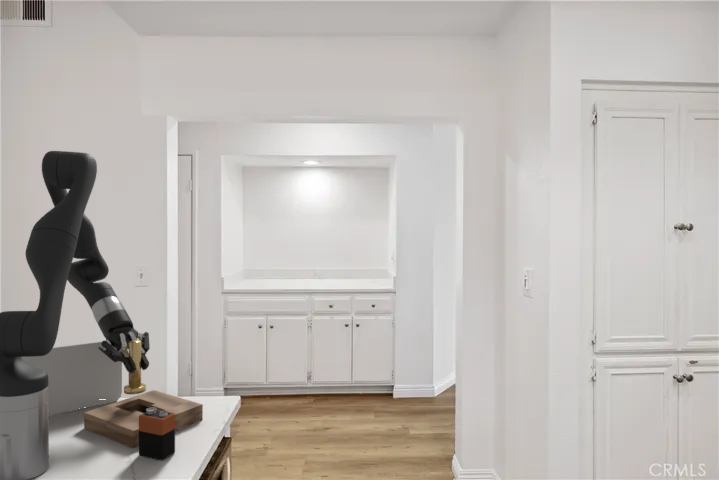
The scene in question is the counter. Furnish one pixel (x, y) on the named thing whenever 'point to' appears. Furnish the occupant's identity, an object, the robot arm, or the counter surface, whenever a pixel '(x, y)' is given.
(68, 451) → the counter surface
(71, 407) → the grey rounded panel
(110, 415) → the walnut keyhole plate
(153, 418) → the battery
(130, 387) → the brass peg
